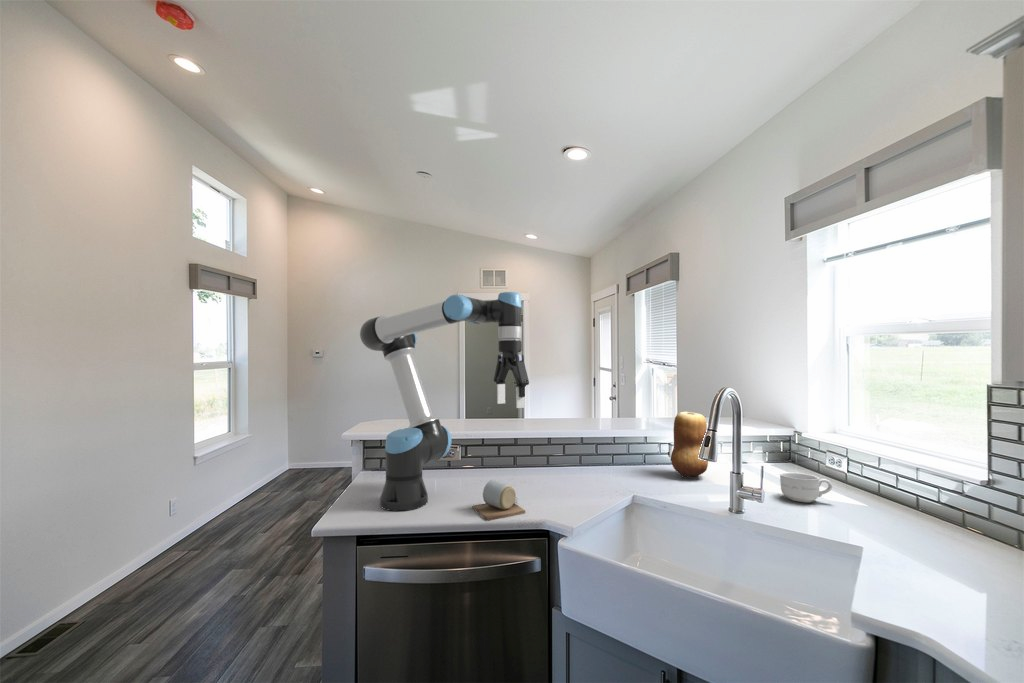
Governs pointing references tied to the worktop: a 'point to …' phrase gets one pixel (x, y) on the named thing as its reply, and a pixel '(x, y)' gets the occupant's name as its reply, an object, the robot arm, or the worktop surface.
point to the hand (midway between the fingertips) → (510, 405)
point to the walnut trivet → (497, 511)
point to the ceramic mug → (499, 495)
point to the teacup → (802, 486)
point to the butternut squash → (688, 444)
